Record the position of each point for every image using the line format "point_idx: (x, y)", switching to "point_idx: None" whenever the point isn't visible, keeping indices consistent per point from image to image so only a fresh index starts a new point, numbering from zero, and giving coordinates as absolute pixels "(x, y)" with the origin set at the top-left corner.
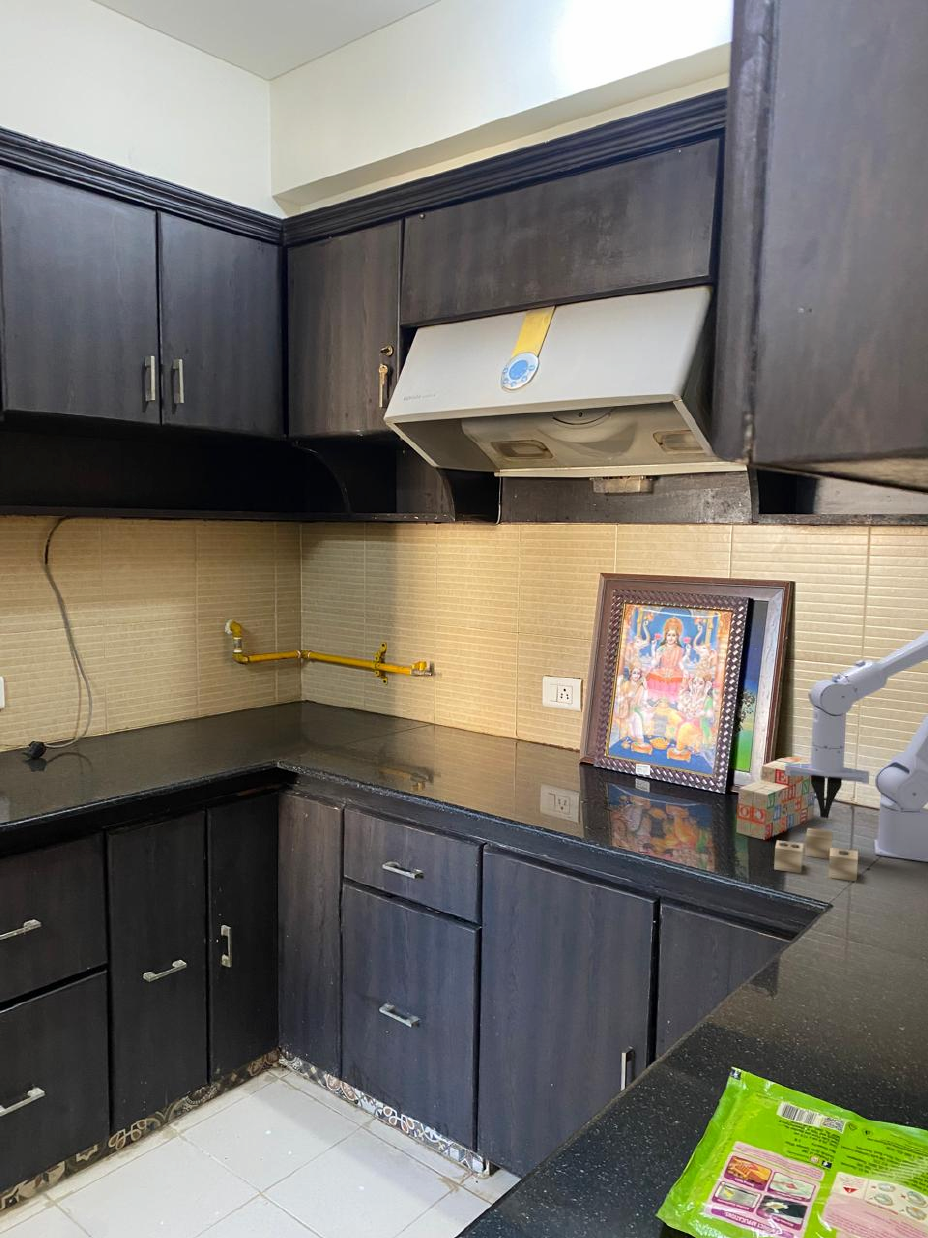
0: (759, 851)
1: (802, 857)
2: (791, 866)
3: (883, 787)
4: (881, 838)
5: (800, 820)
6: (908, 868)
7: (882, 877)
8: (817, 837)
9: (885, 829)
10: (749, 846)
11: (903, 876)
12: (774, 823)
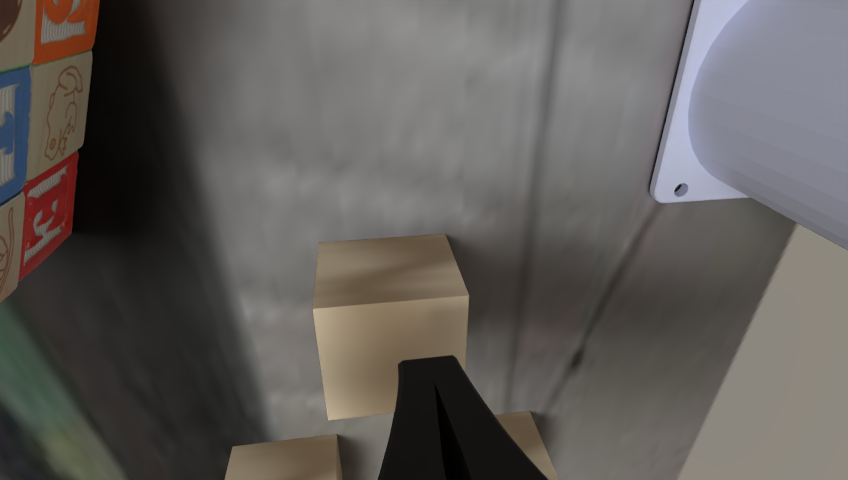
0: (126, 388)
1: (337, 476)
2: None
3: None
4: (736, 171)
5: None
6: (736, 284)
7: (611, 407)
8: (386, 409)
9: (799, 217)
10: (51, 353)
11: (686, 368)
12: (37, 158)
